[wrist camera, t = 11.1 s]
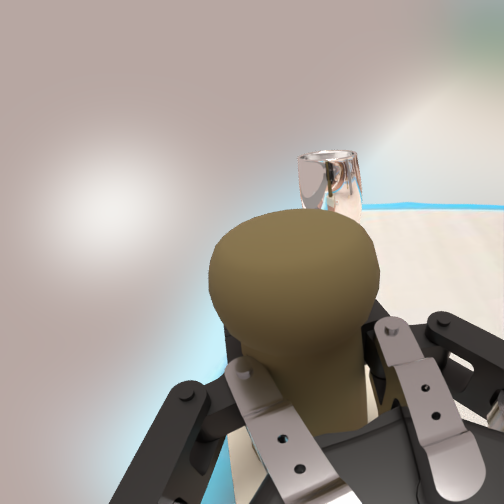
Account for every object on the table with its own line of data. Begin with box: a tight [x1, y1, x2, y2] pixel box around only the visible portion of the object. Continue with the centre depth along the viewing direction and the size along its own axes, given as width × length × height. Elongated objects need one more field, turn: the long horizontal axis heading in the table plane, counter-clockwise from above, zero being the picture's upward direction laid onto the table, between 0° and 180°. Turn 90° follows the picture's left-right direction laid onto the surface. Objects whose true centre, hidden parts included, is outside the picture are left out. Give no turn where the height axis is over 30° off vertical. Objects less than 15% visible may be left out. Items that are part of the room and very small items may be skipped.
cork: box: [209, 208, 380, 463], centre depth 11 cm, size 6×6×11 cm
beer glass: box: [297, 150, 362, 224], centre depth 33 cm, size 7×7×15 cm
